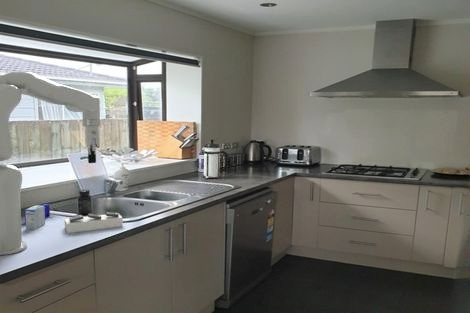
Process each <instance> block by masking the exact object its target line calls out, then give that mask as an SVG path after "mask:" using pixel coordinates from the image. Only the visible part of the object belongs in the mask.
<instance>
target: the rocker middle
mask: <svg viewBox="0 0 470 313" xmlns="http://www.w3.org/2000/svg"><path fill="white" fill-rule="evenodd" d="M100 215H101V214H93V213H92V214H88V215H87V216H88V217H89V218H95V219H101V216H100Z"/></svg>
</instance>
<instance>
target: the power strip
mask: <svg viewBox="0 0 470 313" xmlns="http://www.w3.org/2000/svg"><path fill="white" fill-rule="evenodd" d="M99 215H100V216H101V219H95V218H89V217H88V215H87V216H83V219H81V220H77V221H73V222H70V220H69V218H64V229H65V231H66V233H67V234H70V233H71V234H72V233H78V232H87V231H95V230H103V229H111V228H118V227H123V217H122V215H121V214H119V217H112V216H106V215H105V214H99Z"/></svg>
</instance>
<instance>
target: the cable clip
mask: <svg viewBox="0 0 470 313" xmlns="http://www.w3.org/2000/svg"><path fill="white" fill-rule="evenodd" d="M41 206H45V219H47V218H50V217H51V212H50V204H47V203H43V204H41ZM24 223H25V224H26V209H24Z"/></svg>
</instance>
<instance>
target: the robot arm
mask: <svg viewBox="0 0 470 313" xmlns="http://www.w3.org/2000/svg"><path fill="white" fill-rule="evenodd" d="M22 95H23V96H29V97H32V98H35V99H37V100H40V101H42V102H45V103H48V104H52V105H60V106H64V107H65V109H67V110H68V111H69V112H72V113H81V114H82V127H84V136H85V138H84V141H85V147H87V152H88V153H87V162H88V163H89V164H96V163H97V148H98V149H100V147H101V144H100V130H99V127H101V106H100V104H101V102H100V101H101V100H100V97H99V96H97V95H92V94H90V93H88V92H85V91H84V90H80V89H78V88H74V87H71V86H67V85H65V84H62V83H61V84H59V83H56V82H54V81H52V80H50V79H47V78H45V77H42V76H40V75H37V74H36V73H34V72H30V71H17V72H16V71H14V72H13V71H11V72H7V73H5V74H3V75H0V162H6V161H8V160H10V159H11V158H12V156H13V154H14V153H13V152H14V150H13V149H14V148H13V141H12V137H11V131H10V130H11V129H10V117H11V114H12V112H13V111H14V110H15V109H16V108H17V107H18V106H19V104H20V103H21V101H22ZM22 184H23V174H22V172H21V170H20V169H19V168H18V167H16V166H15V165H11V164H7V163H6V164H4V163H0V256H6V255H12V254H13V255H14V254H16V253H17V254H18V253H19V252H20V253H21V252H22V251H24V250H26V248H27V247H28V246H27V245H28V244H27V242H25V241H23V237H22V235H23V234H22V212H21V211H22V210H21V189H22Z"/></svg>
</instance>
